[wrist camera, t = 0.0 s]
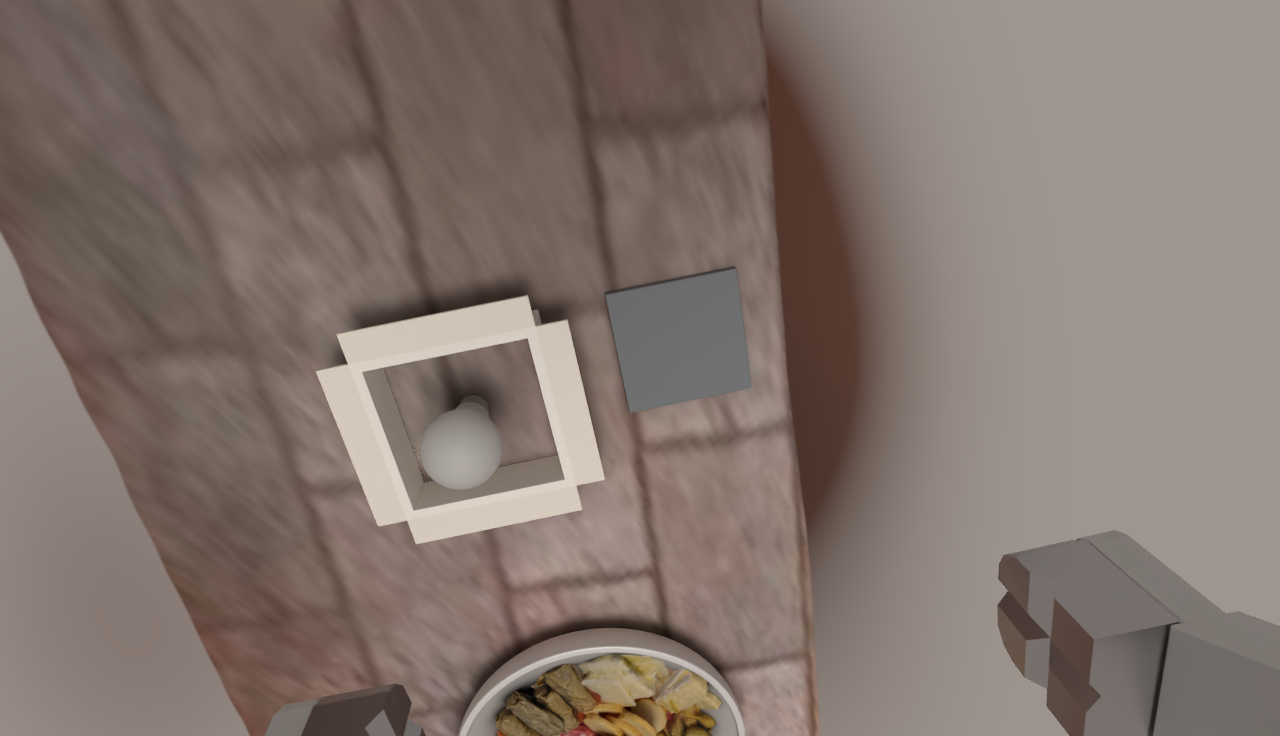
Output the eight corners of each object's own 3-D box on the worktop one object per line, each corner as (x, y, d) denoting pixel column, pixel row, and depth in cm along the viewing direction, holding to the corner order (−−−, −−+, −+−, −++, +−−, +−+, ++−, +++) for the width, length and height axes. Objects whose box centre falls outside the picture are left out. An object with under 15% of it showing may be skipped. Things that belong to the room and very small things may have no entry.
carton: (323, 322, 56) (303, 341, 51) (560, 274, 56) (560, 289, 52) (399, 519, 63) (387, 550, 59) (608, 476, 64) (610, 503, 59)
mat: (605, 293, 57) (605, 295, 56) (734, 266, 57) (736, 268, 56) (629, 409, 61) (630, 412, 61) (749, 385, 61) (751, 387, 61)
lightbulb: (476, 358, 58) (455, 416, 48) (525, 407, 60) (516, 472, 50) (424, 401, 59) (393, 466, 49) (474, 448, 61) (455, 520, 51)
